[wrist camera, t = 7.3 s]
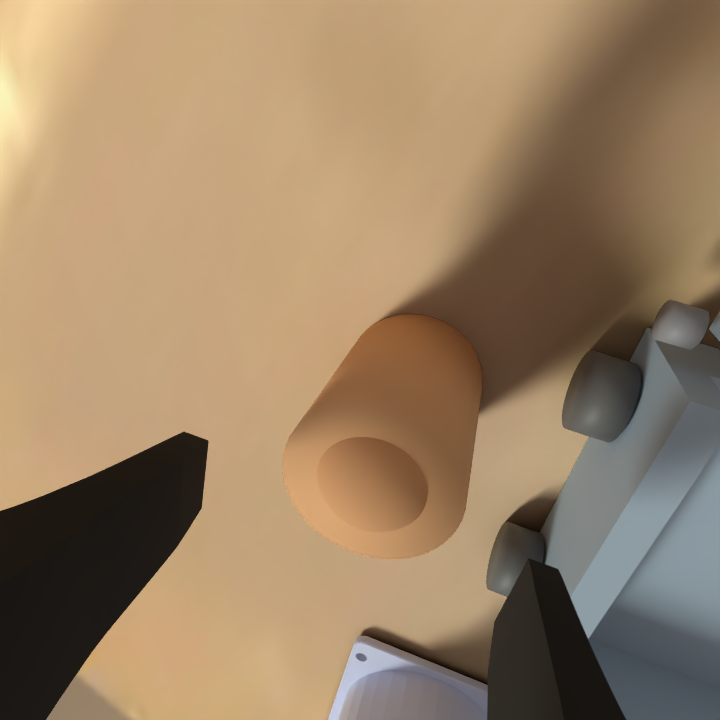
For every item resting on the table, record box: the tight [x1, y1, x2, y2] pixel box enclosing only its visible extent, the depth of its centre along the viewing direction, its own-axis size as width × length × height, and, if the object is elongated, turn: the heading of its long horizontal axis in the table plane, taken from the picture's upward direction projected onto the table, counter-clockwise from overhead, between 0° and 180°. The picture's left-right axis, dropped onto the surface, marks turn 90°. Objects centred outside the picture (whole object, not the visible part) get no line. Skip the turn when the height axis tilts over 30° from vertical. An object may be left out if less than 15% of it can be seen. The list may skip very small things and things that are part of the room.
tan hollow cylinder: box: [282, 314, 483, 559], centre depth 15 cm, size 5×5×7 cm
